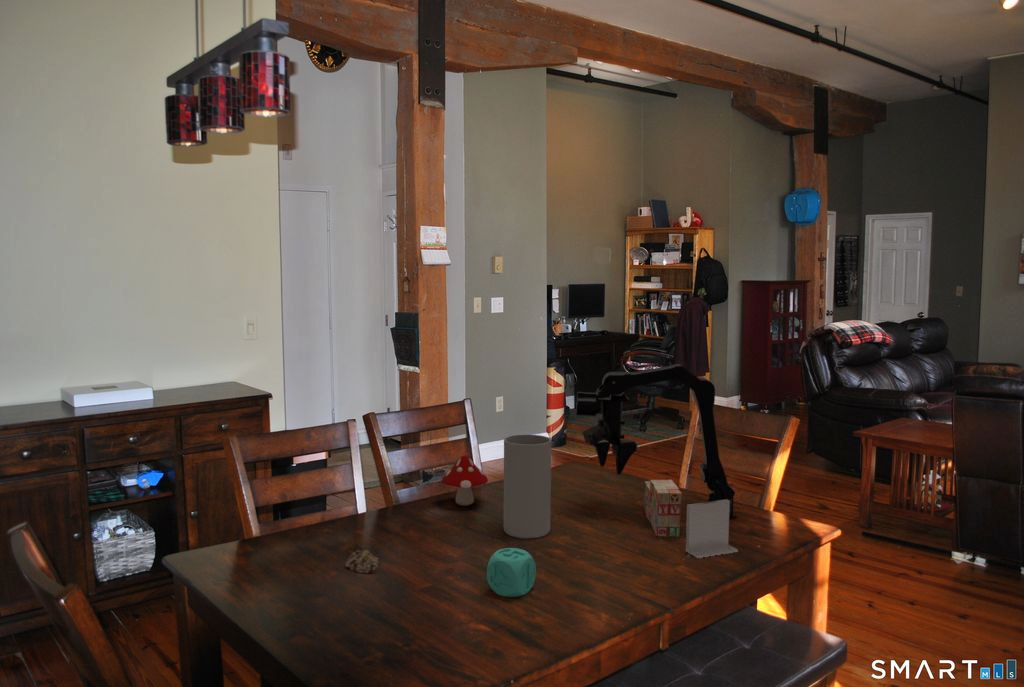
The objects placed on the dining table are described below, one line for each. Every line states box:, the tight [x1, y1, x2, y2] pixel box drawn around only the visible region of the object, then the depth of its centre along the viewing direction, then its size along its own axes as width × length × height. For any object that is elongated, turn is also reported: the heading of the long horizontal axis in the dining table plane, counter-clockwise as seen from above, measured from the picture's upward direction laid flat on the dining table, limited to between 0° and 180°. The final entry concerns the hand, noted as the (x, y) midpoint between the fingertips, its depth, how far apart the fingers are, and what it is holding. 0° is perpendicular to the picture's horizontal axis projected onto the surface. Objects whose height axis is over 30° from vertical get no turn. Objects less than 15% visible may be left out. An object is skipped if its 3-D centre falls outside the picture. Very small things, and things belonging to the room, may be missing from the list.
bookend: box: [685, 499, 739, 559], centre depth 190 cm, size 12×5×12 cm, turn 112°
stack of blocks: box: [643, 479, 682, 538], centre depth 210 cm, size 21×6×12 cm, turn 179°
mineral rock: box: [345, 549, 381, 575], centre depth 180 cm, size 11×4×8 cm
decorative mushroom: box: [441, 454, 489, 507], centre depth 226 cm, size 14×14×15 cm
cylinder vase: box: [503, 434, 552, 540], centre depth 203 cm, size 12×12×25 cm
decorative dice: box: [486, 547, 537, 598], centre depth 167 cm, size 8×8×8 cm
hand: (610, 470), depth 219 cm, fingers open, 9 cm apart
